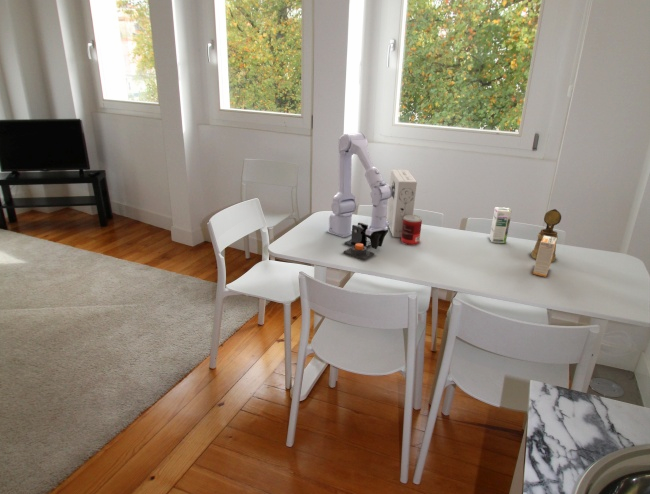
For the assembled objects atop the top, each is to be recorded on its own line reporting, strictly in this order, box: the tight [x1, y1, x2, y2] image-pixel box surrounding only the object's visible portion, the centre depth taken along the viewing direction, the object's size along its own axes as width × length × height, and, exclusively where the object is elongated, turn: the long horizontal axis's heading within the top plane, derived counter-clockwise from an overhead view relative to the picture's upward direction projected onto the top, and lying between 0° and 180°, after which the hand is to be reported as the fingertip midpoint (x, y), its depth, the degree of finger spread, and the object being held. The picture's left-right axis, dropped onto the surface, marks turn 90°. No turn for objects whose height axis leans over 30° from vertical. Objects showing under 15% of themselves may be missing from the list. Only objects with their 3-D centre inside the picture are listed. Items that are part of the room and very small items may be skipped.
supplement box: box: [532, 236, 558, 278], centre depth 172 cm, size 8×5×13 cm, turn 148°
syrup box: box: [489, 206, 512, 244], centre depth 200 cm, size 6×6×14 cm
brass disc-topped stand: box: [530, 208, 562, 263], centre depth 186 cm, size 9×14×18 cm, turn 150°
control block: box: [343, 245, 375, 261], centre depth 185 cm, size 10×7×3 cm
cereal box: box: [386, 168, 418, 238], centre depth 208 cm, size 22×8×25 cm, turn 179°
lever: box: [356, 224, 380, 245], centre depth 191 cm, size 12×3×3 cm, turn 50°
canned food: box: [400, 214, 423, 246], centre depth 197 cm, size 8×8×11 cm
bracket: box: [344, 221, 371, 249], centre depth 193 cm, size 9×8×9 cm
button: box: [355, 243, 363, 250], centre depth 184 cm, size 3×3×2 cm
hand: (376, 247), depth 189 cm, fingers closed on lever, 3 cm apart
